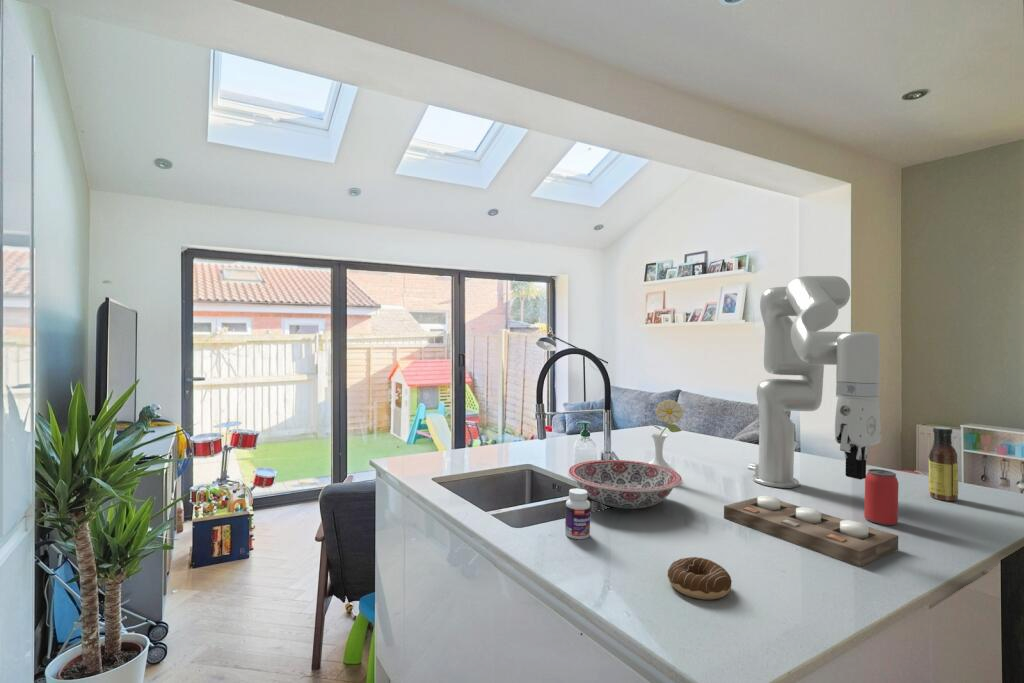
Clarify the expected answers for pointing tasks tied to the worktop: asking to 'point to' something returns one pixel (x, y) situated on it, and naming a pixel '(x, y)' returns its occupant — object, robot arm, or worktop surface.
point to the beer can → (881, 497)
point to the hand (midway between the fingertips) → (855, 477)
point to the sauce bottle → (943, 466)
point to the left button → (768, 503)
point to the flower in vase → (669, 414)
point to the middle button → (808, 515)
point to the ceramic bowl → (625, 482)
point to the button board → (813, 532)
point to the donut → (699, 578)
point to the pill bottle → (577, 514)
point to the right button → (854, 529)
